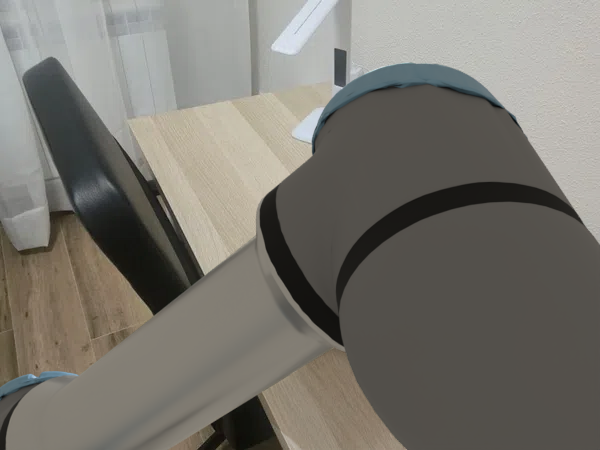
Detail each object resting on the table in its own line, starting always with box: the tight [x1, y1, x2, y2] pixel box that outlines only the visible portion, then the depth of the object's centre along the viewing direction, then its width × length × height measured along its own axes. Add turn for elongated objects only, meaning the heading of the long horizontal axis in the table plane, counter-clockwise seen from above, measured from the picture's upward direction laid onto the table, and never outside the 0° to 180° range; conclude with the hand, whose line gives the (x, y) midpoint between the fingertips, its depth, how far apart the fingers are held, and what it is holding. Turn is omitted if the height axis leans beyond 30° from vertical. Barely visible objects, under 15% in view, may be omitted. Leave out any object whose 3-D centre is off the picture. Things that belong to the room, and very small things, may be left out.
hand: (434, 265), depth 67 cm, fingers closed on disc stack, 7 cm apart
